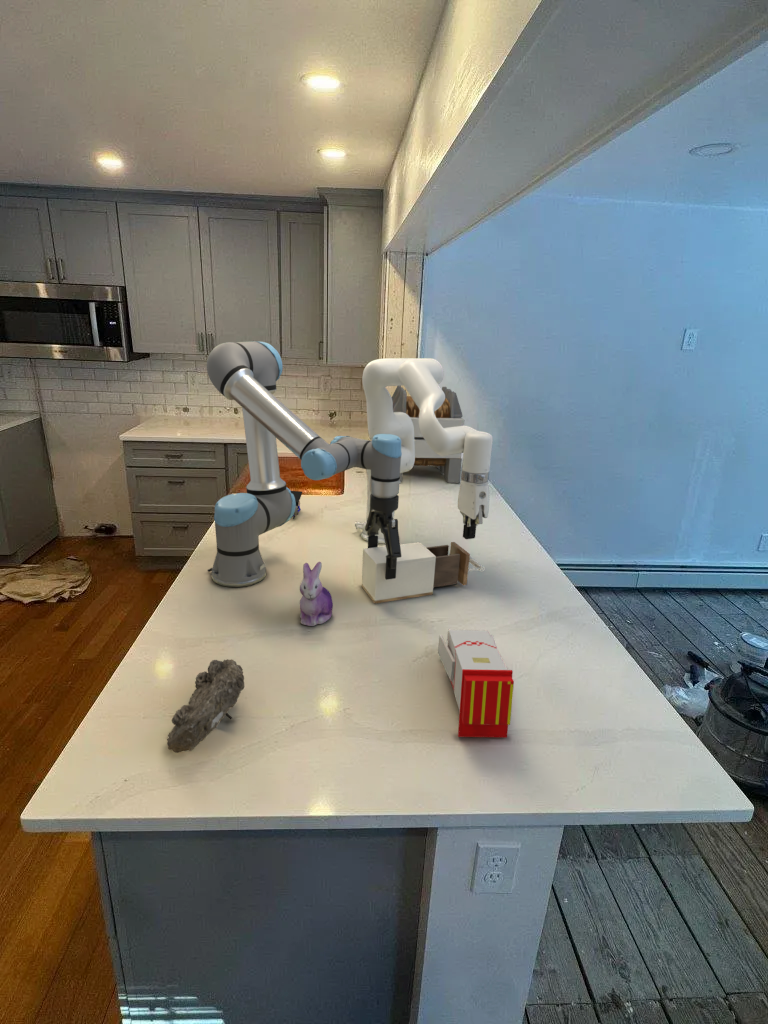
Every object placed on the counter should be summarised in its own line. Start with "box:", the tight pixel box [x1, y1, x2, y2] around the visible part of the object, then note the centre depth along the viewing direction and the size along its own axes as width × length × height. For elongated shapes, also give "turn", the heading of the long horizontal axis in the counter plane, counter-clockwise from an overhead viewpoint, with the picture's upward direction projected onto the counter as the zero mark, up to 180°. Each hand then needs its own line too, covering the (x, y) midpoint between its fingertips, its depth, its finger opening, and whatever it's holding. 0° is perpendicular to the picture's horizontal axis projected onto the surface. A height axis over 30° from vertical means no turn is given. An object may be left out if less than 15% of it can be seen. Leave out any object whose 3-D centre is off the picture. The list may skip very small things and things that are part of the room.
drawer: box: [425, 541, 485, 588], centre depth 163 cm, size 22×9×10 cm, turn 112°
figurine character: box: [291, 490, 303, 520], centre depth 212 cm, size 7×8×15 cm
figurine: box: [299, 561, 334, 627], centre depth 141 cm, size 9×10×15 cm
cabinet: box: [361, 541, 436, 604], centre depth 158 cm, size 17×10×12 cm, turn 112°
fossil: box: [166, 658, 245, 754], centre depth 106 cm, size 22×10×15 cm
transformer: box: [391, 386, 465, 484], centre depth 268 cm, size 34×33×41 cm
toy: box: [437, 628, 515, 738], centre depth 117 cm, size 12×13×30 cm
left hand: (380, 567), depth 155 cm, fingers open, 13 cm apart
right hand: (468, 537), depth 163 cm, fingers closed
